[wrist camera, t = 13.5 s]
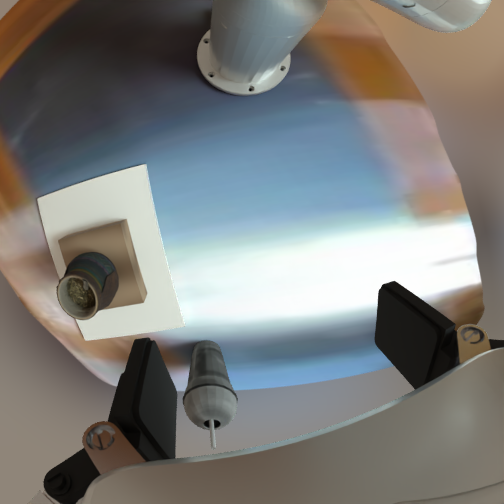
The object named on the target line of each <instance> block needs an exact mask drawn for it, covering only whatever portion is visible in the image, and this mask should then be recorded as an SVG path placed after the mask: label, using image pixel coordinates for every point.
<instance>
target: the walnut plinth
mask: <svg viewBox="0 0 504 504" xmlns="http://www.w3.org/2000/svg"><path fill="white" fill-rule="evenodd" d="M58 243H59V246H60V250H61V253H62V256H63V259H64V263H65V266H66V269H67V266H68V264H69V263H70V262H71V261H72V260H73V259H74V258H75V257H77V256H78V255H80V254H83V253H86V252H98V253H101V254H103V255H105V256H107V257H108V258H109V259H110V260H111V261H112V263H113V264H114V265H115V267H116V271H117V274H118V276H119V287H118V291H117V292H116V295H115V297H114V298H113V301H112V302H111V304H110V305H109V306H108V307H106V308H104V309H102V310H105V309H111V308H117V307H123V306H129V305H135V304H141V303H144V301H145V299H146V296H147V290H146V287H145V284H144V280H143V277H142V274H141V271H140V267H139V264H138V260H137V257H136V253H135V249H134V246H133V242H132V238H131V234H130V230H129V226H128V222H127V219H125V220H121V221H117V222H113V223H109V224H105V225H101V226H97V227H94V228H90V229H86V230H83V231H79V232H75V233H72V234H68V235H66V236H64V237H63V238H61V239H59V240H58Z"/></svg>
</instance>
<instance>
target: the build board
mask: <svg viewBox="0 0 504 504" xmlns="http://www.w3.org/2000/svg"><path fill="white" fill-rule="evenodd" d="M37 200H38V205H39V210H40V214H41V218H42V223H43V227H44V230H45V234H46V238H47V241H48V245H49V248H50V252H51V255H52V258H53V261H54V264H55V267H56V270H57V273H58V276H59V279H61V278H63V277H64V274H65V271H66V266H65V263H64V259H63V256H62V253H61V250H60V246H59V243H58V240H59V239H61V238H63V237H64V236H66V235H68V234H72V233H75V232H79V231H83V230H86V229H90V228H94V227H97V226H101V225H105V224H109V223H113V222H117V221H121V220H125V219H127V222H128V226H129V230H130V234H131V238H132V242H133V246H134V249H135V253H136V257H137V260H138V264H139V267H140V271H141V274H142V277H143V280H144V284H145V287H146V290H147V296H146V299H145V301H144V303H141V304H135V305H129V306H123V307H117V308H111V309H105V310H100V311H98V312H97V313H96V314H95V316H93V317H92V318H90V319H88V320H78V319H76V321H77V323H78V326H79V328H80V330H81V332H82V334H83V336H84V338H85V340H86V341H87V340H96V339H104V338H112V337H120V336H128V335H135V334H142V333H148V332H155V331H161V330H167V329H173V328H179V327H185V321H184V318H183V314H182V311H181V308H180V305H179V301H178V298H177V294H176V291H175V287H174V284H173V280H172V277H171V273H170V269H169V265H168V262H167V258H166V254H165V250H164V246H163V242H162V238H161V233H160V229H159V225H158V220H157V216H156V211H155V207H154V202H153V197H152V192H151V187H150V182H149V176H148V171H147V165H146V164H143V165H140V166H136V167H132V168H128V169H125V170H121V171H117V172H114V173H111V174H107V175H104V176H101V177H97V178H94V179H91V180H88V181H85V182H82V183H79V184H76V185H73V186H70V187H67V188H64V189H62V190H59V191H56V192H53V193H51V194H48V195H45V196H43V197H40V198H38V199H37Z"/></svg>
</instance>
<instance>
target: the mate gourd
mask: <svg viewBox="0 0 504 504" xmlns="http://www.w3.org/2000/svg"><path fill="white" fill-rule="evenodd" d="M118 287H119V276H118V274H117V271H116V267H115V265H114V264H113V263H112V261H111V260H110V259H109V258H108V257H107V256H105V255H103V254H101V253H98V252H86V253H83V254H80V255H78V256H77V257H75V258H74V259H73V260H72V261H71V262H70V263H69V264H68V266H67V269H66V271H65V274H64V277H63V278H61V279H60V280H59V285H58V286H57V297H58V301H59V303H60V305H61V307H62V308H63V310H64V311H65V312H66V313H67V314H68V315H69V316H71V317H73V318H75V319H78V320H88V319H90V318H92V317H93V316H95V314H96V313H97V312H98V311H100V310H102V309H104V308H106V307H108V306H109V305H110V304H111V302H112V301H113V298H114V297H115V295H116V292H117V291H118Z"/></svg>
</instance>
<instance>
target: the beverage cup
mask: <svg viewBox="0 0 504 504" xmlns="http://www.w3.org/2000/svg"><path fill="white" fill-rule="evenodd" d="M237 400H238V398H237V396H236V394H235V392H234V390H233V388H232V385H231V384H230V380H229V377H228V373H227V370H226V366H225V363H224V359H223V355H222V352H221V350H220V347H219V346H218V344H216V343H215V342H213V341H207V340H205V341H201V342H199V343H197V344H196V345H195V347H194V349H193V354H192V359H191V365H190V372H189V378H188V385H187V388H186V391H185V394H184V396H183V405H184V408H185V412H186V414H187V416H188V417H189V419H190V420H191V421H192V422H193V423H194V424H195V425H197V426H198V427H201V428H203V429H207V430H210V438H211V449H213V450H214V449H216V444H215V432H214V430H216V429H220V428H223V427H225V426H226V425H228V424H229V423H230V422H231V421H232V419H233V418H234V416H235V414H236V409H237Z"/></svg>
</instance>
